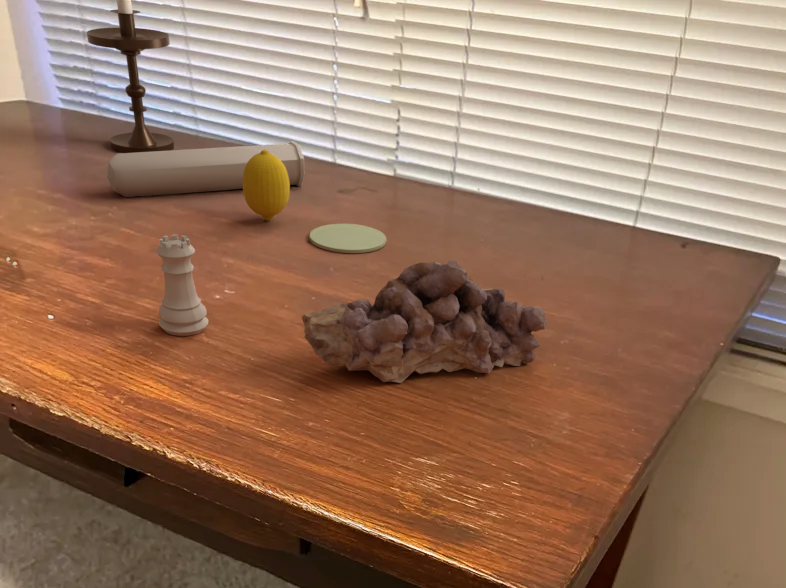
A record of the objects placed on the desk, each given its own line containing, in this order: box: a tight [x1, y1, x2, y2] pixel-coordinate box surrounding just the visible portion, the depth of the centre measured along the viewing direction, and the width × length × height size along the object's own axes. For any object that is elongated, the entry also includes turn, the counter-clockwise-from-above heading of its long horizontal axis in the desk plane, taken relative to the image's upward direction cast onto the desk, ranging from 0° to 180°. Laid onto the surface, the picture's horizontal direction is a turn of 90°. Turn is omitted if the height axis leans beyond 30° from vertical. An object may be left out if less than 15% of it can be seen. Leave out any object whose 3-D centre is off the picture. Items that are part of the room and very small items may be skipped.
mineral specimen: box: [301, 260, 548, 384], centre depth 69 cm, size 20×10×10 cm
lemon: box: [242, 150, 291, 222], centre depth 96 cm, size 6×6×8 cm
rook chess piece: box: [155, 233, 209, 337], centre depth 72 cm, size 4×4×8 cm
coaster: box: [309, 223, 387, 254], centre depth 95 cm, size 9×9×1 cm
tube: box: [106, 140, 305, 198], centre depth 106 cm, size 5×5×25 cm
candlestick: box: [86, 0, 175, 153], centre depth 110 cm, size 11×11×35 cm
